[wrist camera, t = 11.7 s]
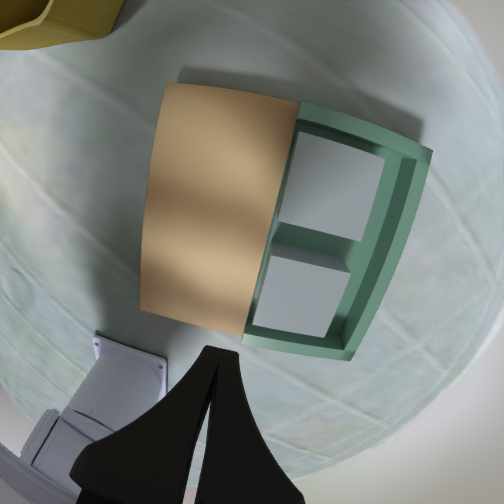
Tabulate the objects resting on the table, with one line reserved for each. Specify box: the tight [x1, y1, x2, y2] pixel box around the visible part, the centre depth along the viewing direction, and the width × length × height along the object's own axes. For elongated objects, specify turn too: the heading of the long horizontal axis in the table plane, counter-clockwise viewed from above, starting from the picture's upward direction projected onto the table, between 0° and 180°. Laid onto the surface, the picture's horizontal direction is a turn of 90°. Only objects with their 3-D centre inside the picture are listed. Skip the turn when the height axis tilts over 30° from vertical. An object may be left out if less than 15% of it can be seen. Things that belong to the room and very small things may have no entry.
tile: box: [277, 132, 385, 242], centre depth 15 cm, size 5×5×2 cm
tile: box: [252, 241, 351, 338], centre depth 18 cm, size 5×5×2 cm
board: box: [140, 83, 300, 336], centre depth 17 cm, size 16×8×2 cm, turn 168°
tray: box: [241, 101, 433, 361], centre depth 17 cm, size 16×8×2 cm, turn 168°
